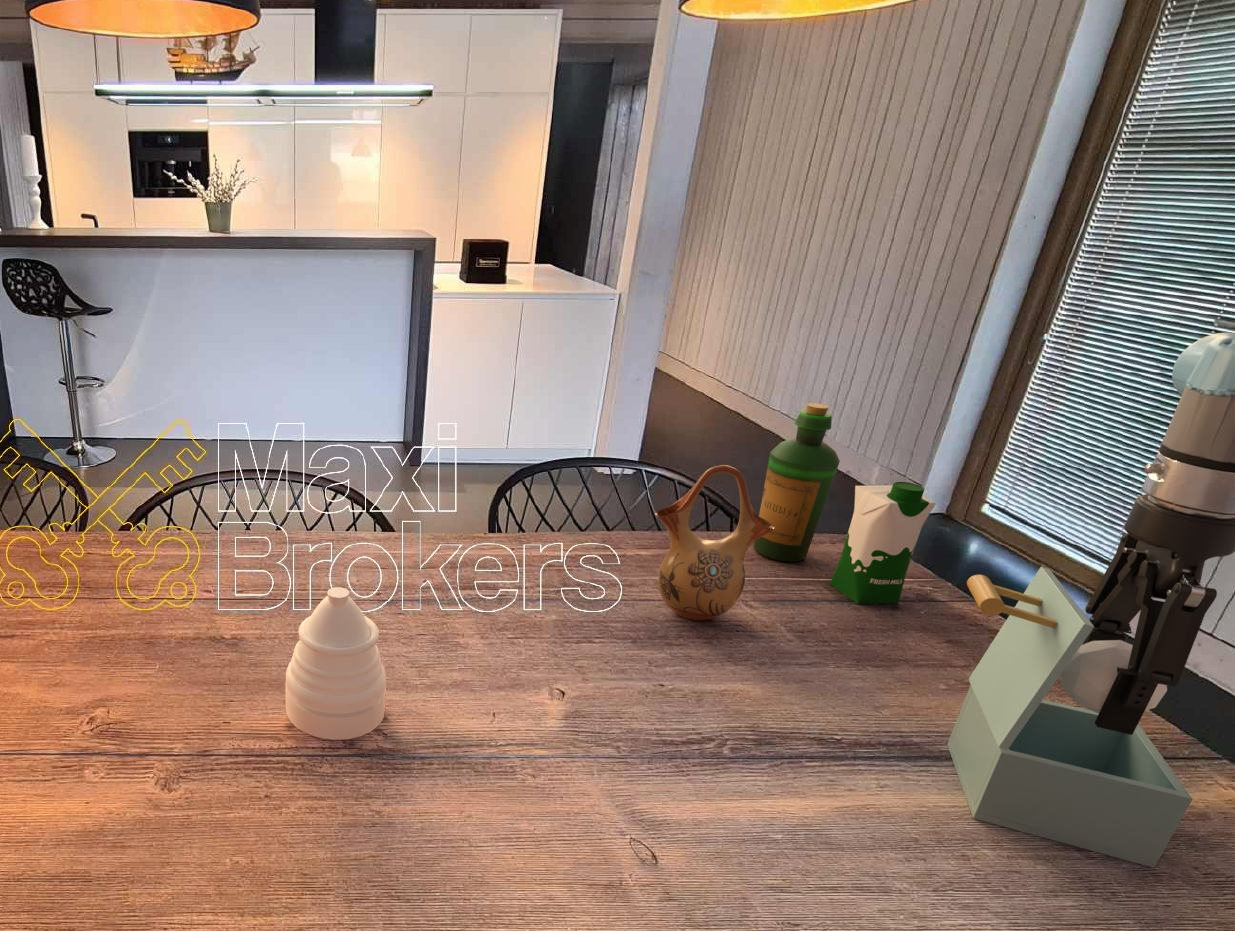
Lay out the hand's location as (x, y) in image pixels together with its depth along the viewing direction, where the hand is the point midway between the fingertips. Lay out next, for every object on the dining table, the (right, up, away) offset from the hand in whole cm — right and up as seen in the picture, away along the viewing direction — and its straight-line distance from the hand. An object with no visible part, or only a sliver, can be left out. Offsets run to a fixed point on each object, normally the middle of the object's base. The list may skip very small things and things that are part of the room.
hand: (1097, 705), depth 84 cm
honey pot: (-79, -5, +20) cm, 82 cm away
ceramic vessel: (-22, +4, +43) cm, 48 cm away
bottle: (+4, +13, +64) cm, 65 cm away
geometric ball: (0, 0, 0) cm, 0 cm away
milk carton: (+10, +7, +50) cm, 51 cm away
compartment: (-1, -12, +6) cm, 13 cm away
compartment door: (-6, +5, +1) cm, 8 cm away
